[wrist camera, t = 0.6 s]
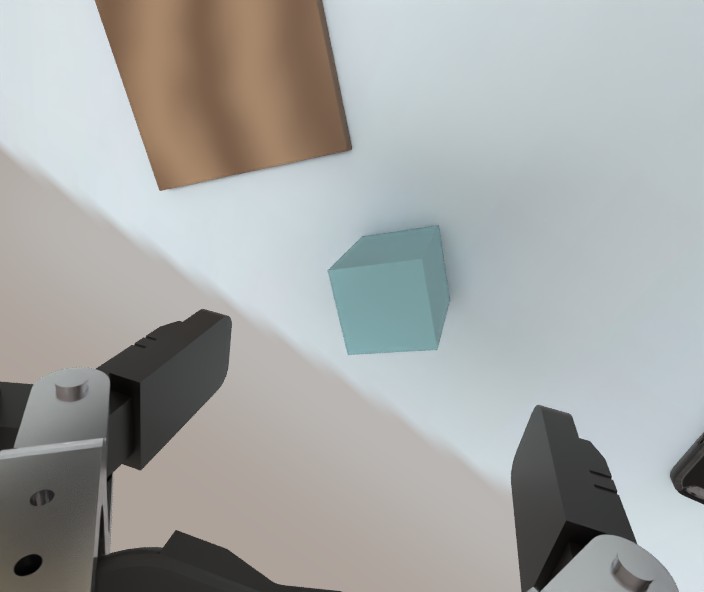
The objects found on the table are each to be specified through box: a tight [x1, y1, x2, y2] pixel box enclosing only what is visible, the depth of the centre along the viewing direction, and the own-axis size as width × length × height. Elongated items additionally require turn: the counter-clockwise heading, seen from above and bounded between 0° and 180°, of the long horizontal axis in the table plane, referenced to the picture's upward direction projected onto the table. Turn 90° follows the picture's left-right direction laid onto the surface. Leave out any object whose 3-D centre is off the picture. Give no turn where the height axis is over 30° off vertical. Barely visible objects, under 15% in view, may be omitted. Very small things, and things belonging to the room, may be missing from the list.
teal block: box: [328, 225, 450, 355], centre depth 27 cm, size 5×5×7 cm
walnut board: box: [95, 0, 352, 191], centre depth 28 cm, size 14×14×1 cm
